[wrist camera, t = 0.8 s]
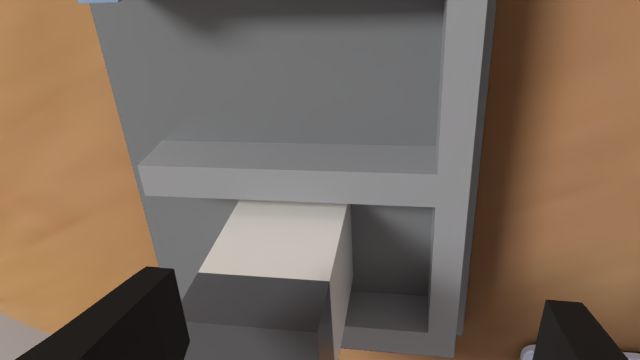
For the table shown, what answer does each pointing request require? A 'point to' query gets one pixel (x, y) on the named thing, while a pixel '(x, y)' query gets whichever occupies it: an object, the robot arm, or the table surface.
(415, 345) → the parts fixture tray
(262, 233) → the white upright block
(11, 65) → the table surface
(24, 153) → the table surface
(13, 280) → the table surface
